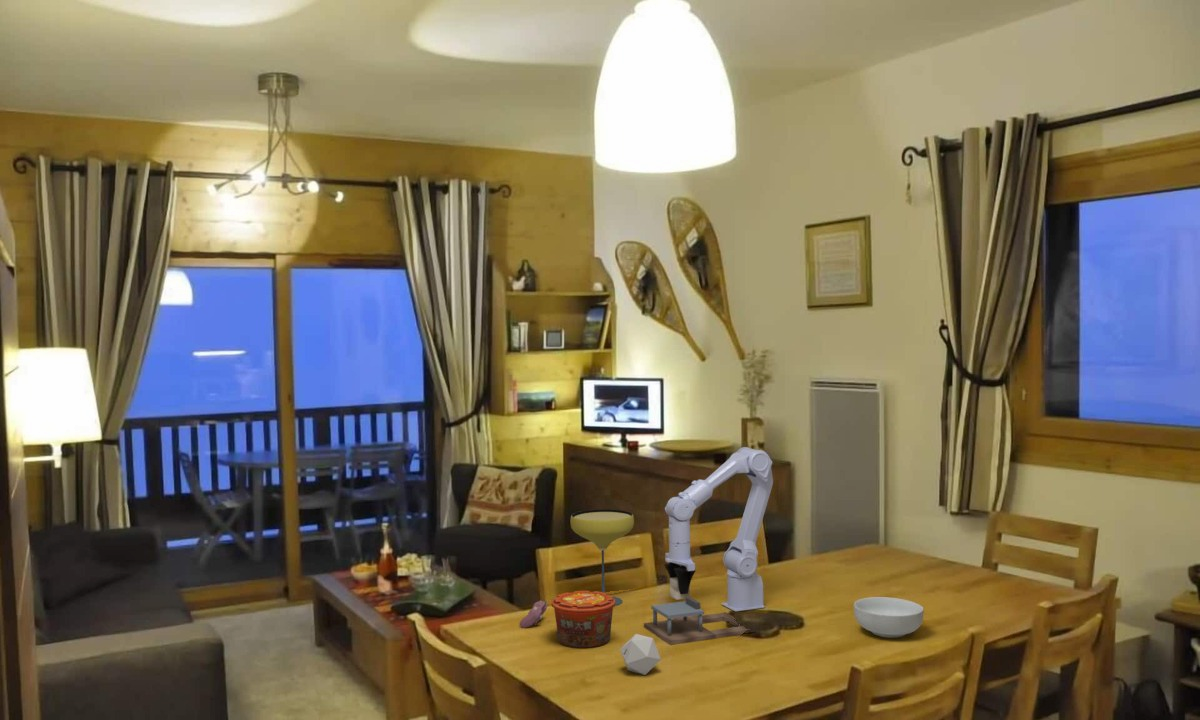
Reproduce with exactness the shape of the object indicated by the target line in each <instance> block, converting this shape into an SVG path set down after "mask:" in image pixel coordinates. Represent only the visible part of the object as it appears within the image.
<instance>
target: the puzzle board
mask: <svg viewBox="0 0 1200 720" xmlns="http://www.w3.org/2000/svg"><path fill="white" fill-rule="evenodd" d="M734 617H735V616H733V615H731V614H730V613H727V612H719V613H718V612H717V613H711V614H702V625H703V624H709V623H716V622H725V623H727V622H726V621H730V622H733V623H735V624H737V622H736V621H735V620H736V619H735V618H736V617H735V618H734ZM734 619H735V620H734ZM737 625H738V624H737ZM643 628H645V629H646V630H648V631H649V632H651V633H652V634H653V635H655V636H656V637H658V639H661V640H662V641H664V642H665V643H667V644H668V645H670V646H672V645H678V644H686V643H692V642H699V641H707V640H713V639H714V640H715V639H721V638H728V637H733V636H734V637H735V636H741V635H742V634H743V633H744V632H745V631H747V630H750V629H746V628H745V627H744V626H740V624H739V626H738V627H734V626H732V627H725V628H717V629H710V630H709V629H707V628H706V627H704V626H702V630H698V616H694V617H687V621H683V618H680V619H673V618H671V632H672V634H668V633H667V619H666V620H657V625H653V621H651V622H650V621H649V622H645V623H643ZM743 635H744V634H743ZM743 635H742V636H743Z"/></svg>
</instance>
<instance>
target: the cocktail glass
mask: <svg viewBox="0 0 1200 720" xmlns="http://www.w3.org/2000/svg"><path fill="white" fill-rule="evenodd" d="M634 517H635V516H634V514H633V512H631V511H627V510H621V509H612V508H611V509H608V508H607V509H606V508H605V509H604V508H603V509H601V508H600V509H598V508H597V509H587V510H581V511H580V510H579V511H576V512H574V513H572V514H571V516H570V520H569V521H570V528H571V529H572V531H573V532H574V533H575V534H577V535H578V536H580V537H581V538H583V539H586V540H587V541H590V542H591V543H592V544H594V545H595V546H596V547H597V549H598V550H600V551H601V591H600V592H604V593H607V592H606V586H605V585H606V583H605V582H606V581H605V550H607V548H609V545H611V544H612V543H613V542H615V541H616V540H618V539H620V538H622V537H624V536H625V535H627V534H628V533H630V532H631V531H632V529H633V528H634V524H635V518H634ZM613 598H614V600H615V602H616V603H615V605H617V606H619V605H621V604H622V603H623V599H622V598H620V597H618V598H617V596H613ZM620 603H621V604H620ZM618 604H619V605H618ZM615 605H614V607H616V606H615Z"/></svg>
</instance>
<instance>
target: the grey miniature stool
mask: <svg viewBox="0 0 1200 720" xmlns="http://www.w3.org/2000/svg"><path fill="white" fill-rule="evenodd" d="M650 608H651V609H652V617H653V618H652V620H653V621H652V622H653V625H657V621H658V614H659V615H661V616H662V617H664V618H666V620H667V633H668V634H672V632H671V620H672V619H673V618H679V617H683V621H687V616H694V615H698V630H702V627H703V624H702V615H705V611H704V610H703V609H701V602H700V601H698V600H696V599H694V598H693V597H691V596H690V597H685V600H684V601H678V602H677V601H676V602H668V603H661V604H653V605H651V607H650Z"/></svg>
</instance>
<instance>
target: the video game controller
mask: <svg viewBox="0 0 1200 720" xmlns="http://www.w3.org/2000/svg"><path fill="white" fill-rule="evenodd" d="M548 606H549V603H547V602H546V601H542V600H541V599H540V600H539V601H536V602H535V603H533V606H532V608H531V609H530V610H529V611H528V613H527V615H525V616H524V617H523V618H522V619H521V620H520V622H519V626H520V627H521V629H526V628H529V627H531V626H532V625H533V626H537V623H539V622H540V621H542V619H543V615H544V613H545V612H546V611H547V609H548V608H547V607H548Z"/></svg>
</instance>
